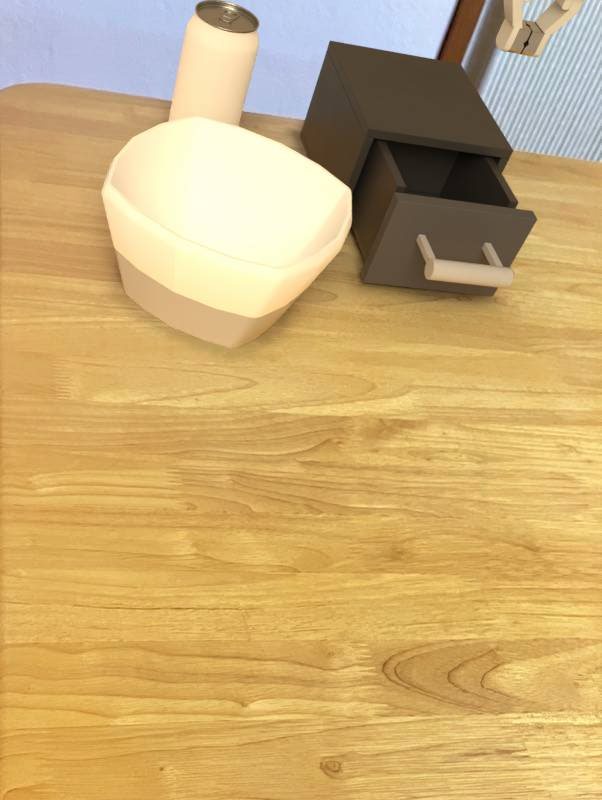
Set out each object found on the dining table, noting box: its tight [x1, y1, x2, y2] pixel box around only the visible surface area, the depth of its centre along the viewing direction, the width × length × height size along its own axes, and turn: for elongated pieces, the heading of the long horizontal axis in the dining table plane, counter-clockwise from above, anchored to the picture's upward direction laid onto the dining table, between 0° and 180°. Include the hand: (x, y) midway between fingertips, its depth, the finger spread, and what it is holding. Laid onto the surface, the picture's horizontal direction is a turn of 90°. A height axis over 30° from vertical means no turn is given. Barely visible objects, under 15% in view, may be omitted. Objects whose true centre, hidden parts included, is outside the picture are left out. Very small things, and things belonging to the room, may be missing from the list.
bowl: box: [100, 115, 352, 349], centre depth 67 cm, size 18×18×9 cm
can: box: [167, 0, 260, 127], centre depth 80 cm, size 6×6×12 cm
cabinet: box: [299, 40, 514, 230], centre depth 83 cm, size 16×14×10 cm
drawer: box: [351, 138, 538, 297], centre depth 76 cm, size 20×12×8 cm, turn 7°
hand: (516, 50), depth 65 cm, fingers closed
